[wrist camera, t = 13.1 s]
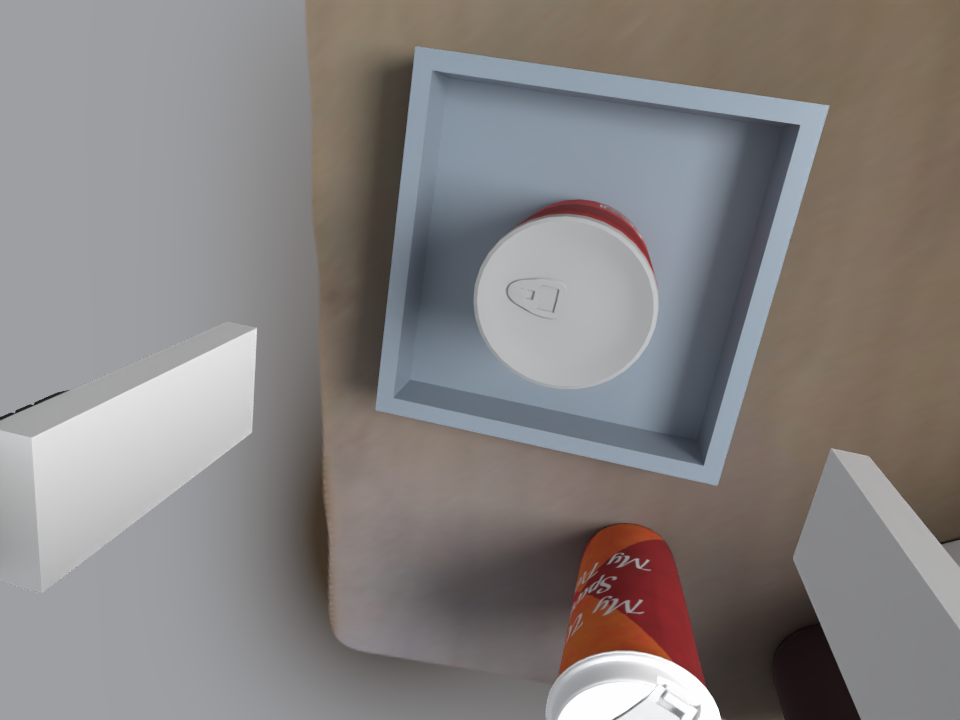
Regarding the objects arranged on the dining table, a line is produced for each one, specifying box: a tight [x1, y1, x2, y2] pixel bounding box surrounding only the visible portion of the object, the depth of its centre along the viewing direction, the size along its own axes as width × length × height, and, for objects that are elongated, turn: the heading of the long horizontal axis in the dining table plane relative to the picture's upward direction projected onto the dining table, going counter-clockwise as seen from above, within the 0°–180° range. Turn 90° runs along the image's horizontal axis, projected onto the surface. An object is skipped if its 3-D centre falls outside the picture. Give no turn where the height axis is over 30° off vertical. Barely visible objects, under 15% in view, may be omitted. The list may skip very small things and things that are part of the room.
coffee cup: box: [545, 524, 721, 720], centre depth 38 cm, size 8×8×15 cm
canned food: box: [473, 199, 659, 389], centre depth 34 cm, size 8×8×11 cm
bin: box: [375, 46, 829, 486], centre depth 38 cm, size 20×20×4 cm
